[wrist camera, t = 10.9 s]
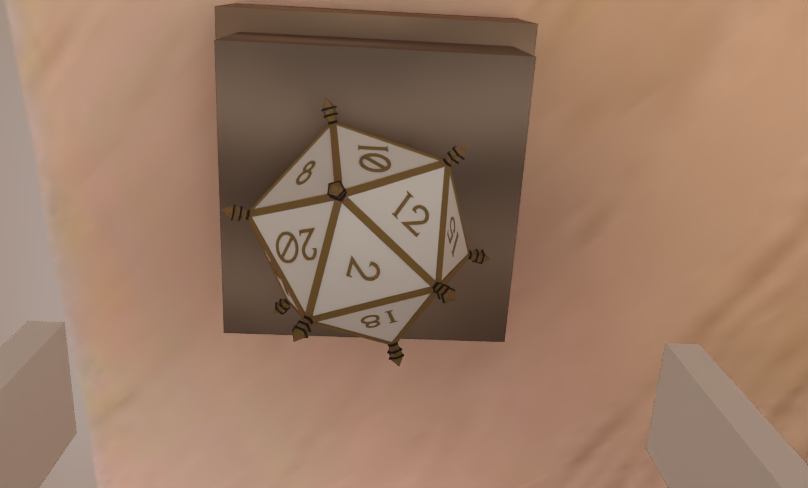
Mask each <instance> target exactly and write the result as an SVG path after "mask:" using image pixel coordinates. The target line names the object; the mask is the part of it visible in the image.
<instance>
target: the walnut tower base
mask: <svg viewBox="0 0 808 488" xmlns="http://www.w3.org/2000/svg"><path fill="white" fill-rule="evenodd" d="M537 26H538V24H536V23H532V22H528V21H524V20H520V19H513V18H494V17H476V16H458V15H439V14H421V13H403V12H384V11H366V10H348V9H329V8H311V7H293V6H274V5H256V4H238V3H235V4H228V5H221V6H215V32H216V40H214V41H215V72H216V103H217V134H218V165H219V196H220V227H221V259H222V290H223V321H224V333H244V334H275V335H293V332H292V330H293V328H294V326H295V325H296V324H297V322H298V321H299V320H300V321H301V320H302V319H303V318H302V317H301V316H300V315H299V314H298V313H297V312H296V311H295V309H294V308H293V307H292V306H290V307H291V308H290V309H289V310H287V312H286V313H284V314H283V315H282V314H274V311H275V302H279V299H284V298H285V296H284V294H283V292H282V290H281V288H280V286H279V284H278V282H277V280H276V278H275V276H274V273H273V271H272V269H271V267H270V265H269V263H268V261H267V259H266V257H265V255H264V253H263V251H262V248H261V246H260V244H259V242H258V240H257V238H256V236H255V234H254V232H253V230H252V228H251V225H250V223H249V221H248V220H246V219H243V220H240V221H238V220H236V219H233V220H231V218H230V217H229V216H228V215H226V214H225V213H224V212H223V211H222V210H221V209H224V208H227V207H230V206H233V204H234V205H236V206H237V207H240V206H242V207H243V208H244V209H246V210H250V209H251V208H252V207H253V206H254V205H255V204H256V203H257V202H258V200H259V199H260V198H261V197H262V196H263V195H264V194H265V193H266V192H267V191H268V190H269V188H270V187H271V186H272V185H273V184H274V183H275V182H276V181H277V180H278V179H279V178H280V177H281V175H282V174H283V173H284V172H285V171H286V170H287V169H288V168H289V167H290V166H291V165H292V163H293V162H294V161H295V160H296V159H297V158H298V157H299V156H300V155H301V154H302V153H303V152H304V150H305V149H306V148H307V147H308V146H309V145H310V144H311V143H312V142H313V141H314V140H315V139H316V137H317V136H318V135H319V134H320V133H321V132H322V131H323V130H324V129H325V128H326V127H327V125H328V122H327V120H326V119H325V118H324V117H323V116H324V113H323V111H322V112H321V110H322V109H323V105H324V102H325V98H327V99H328V100H329V101H330V102H331V103H333V104H334V105H335V106H337V108H336V111H337V113H338V114H337V121H338V122H339V123H341V124H344V125H347V126H350V127H353V128H356V129H359V130H362V131H365V132H368V133H371V134H374V135H377V136H380V137H382V138H385V139H388V140H391V141H394V142H397V143H400V144H403V145H406V146H409V147H412V148H415V149H418V150H421V151H423V152H426V153H429V154H432V155H435V156H438V157H441V158H444V159H445V158H446V156H447V155H448V154H447V152H449V151H451V150H452V148H453V147H454V146H456V147H459V146H464V145H467V148H466V152H465V155H464V158H465V159H464V160H463V159H462V160H460V161H459V164H457V163H456V164H454V165H452V166H451V171H452V176H453V180H454V185H455V189H456V194H457V198H458V203H459V207H460V211H461V216H462V220H463V225H464V229H465V234H466V238H467V243H468V247H469V250H471V251H473V250H475V249H478V250H480V251H481V250H482V249H483V251H484V253H485V254H486V255H487V256H488V257H489V258H490V260H488V261H485V262H483V263H482V264H479V263H475V262H472V260H470V259H469V260H467V261H466V263H465V264H464V265H463V266H462V267H461V268H460V270H459V271H458V272H457V273H456V274H455V275H454V277H453V278H452V279H451V280H450V281H449V282H448V284H447V285H448V286H450V288H453V289H455V296H456V301H451V302H446V303H443V302H442V300H441V299H440V300H439V299H438V297H437V296H436V298H435V299H434V300H433V301H432V302H431V303H430V305H429V306H428V307H427V308H426V309H425V310H424V312H423V313H422V314H421V315H420V316H419V317H418V319H417V320H416V321H415V322H414V323H413V324H412V326H411V327H410V328H409V329H408V330H407V331H406V333H405V334H404V335H403V336H402V337H401V338H400V339H429V340H460V341H491V342H504V341H505V332H506V323H507V314H508V305H509V296H510V287H511V278H512V269H513V260H514V251H515V242H516V233H517V223H518V214H519V205H520V196H521V187H522V178H523V169H524V160H525V151H526V142H527V133H528V124H529V115H530V105H531V96H532V87H533V78H534V69H535V60H536V57H535V56H534V54H535V45H536V36H537ZM310 329H311V332H309V333H308V336H337V337H358V336H354V335H351V334H347V333H343V332H339V331H335V330H332V329H328V328H324V327H320V326H316V325H311V328H310Z"/></svg>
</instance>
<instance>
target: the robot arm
mask: <svg viewBox="0 0 808 488" xmlns="http://www.w3.org/2000/svg"><path fill="white" fill-rule="evenodd" d="M76 433H77V431H76V422H75V413H74V405H73V395H72V386H71V377H70V368H69V359H68V350H67V340H66V331H65V322H39V321H28V322H27V323H26V324H25V325H23V326H22V327H21V329H19V330H18V331H17V332H16V333H15V334H14V335H13V336H12V337H11V338H10V339H9V340H8V341H7V342H5V343H4V344H3V345H2V346H1V347H0V488H39V487H40V486H41V484H42V483H43V481H44V480H45V478H46V477H47V475H48V474H49V473H50V471H51V470H52V468H53V467H54V465H55V464H56V462H57V461H58V459H59V458H60V456H61V455H62V454H63V452H64V451H65V449H66V448H67V446H68V445H69V443H70V442H71V440H72V439H73V437H74V436H75V434H76ZM646 450H647V452H648V453H649V455H650V457H651V458H652V460H653V462H654V464H655V465H656V467H657V469H658V471H659V472H660V474H661V476H662V478H663V479H664V481H665V483H666V484H667V486H668V488H808V464H806V462H805V461H804V460H803V459H802V458H801V457H800V456H799V455H798V453H797V452H796V451H795V450H794V449H793V448H792V447H791V446H790V445H789V443H788V442H787V441H786V440H785V439H784V438H783V437H782V436H781V435H780V433H779V432H778V431H777V430H776V429H775V428H774V427H773V426H772V425H771V423H770V422H769V421H768V420H767V419H766V418H765V417H764V416H763V414H762V413H761V412H760V411H759V410H758V409H757V408H756V407H755V406H754V404H753V403H752V402H751V401H750V400H749V399H748V398H747V397H746V396H745V394H744V393H743V392H742V391H741V390H740V389H739V388H738V387H737V385H736V384H735V383H734V382H733V381H732V380H731V379H730V378H729V377H728V375H727V374H726V373H725V372H724V371H723V370H722V369H721V368H720V367H719V365H718V364H717V363H716V362H715V361H714V360H713V359H712V358H711V356H710V355H709V354H708V353H707V352H706V351H705V350H704V349H703V348H702V346H701V345H700V344H681V343H666V344H665V349H664V355H663V360H662V365H661V370H660V376H659V381H658V386H657V392H656V397H655V402H654V407H653V413H652V418H651V423H650V429H649V434H648V439H647V444H646Z"/></svg>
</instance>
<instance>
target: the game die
mask: <svg viewBox="0 0 808 488" xmlns="http://www.w3.org/2000/svg"><path fill="white" fill-rule="evenodd" d="M336 108H337V106H335V105H334V104H333V103H331V102H330V101H329V100H328V99H327V98H325V102H324V105H323V109H322V110H321V112H322V111H323V113H324V116H323V117H324V118H325V119H326V120H327V122H328V125H327V127H326V128H325V129H324V130H323V131H322V132H321V133H320V134H319V135H318V136H317V137H316V139H315V140H314V141H313V142H312V143H311V144H310V145H309V146H308V147H307V148H306V149H305V150H304V152H303V153H302V154H301V155H300V156H299V157H298V158H297V159H296V160H295V161H294V162H293V163H292V165H291V166H290V167H289V168H288V169H287V170H286V171H285V172H284V173H283V174H282V175H281V177H280V178H279V179H278V180H277V181H276V182H275V183H274V184H273V185H272V186H271V187H270V188H269V190H268V191H267V192H266V193H265V194H264V195H263V196H262V197H261V198H260V199H259V200H258V202H257V203H256V204H255V205H254V206H253V207H252V208H251V209H250V210H246V209H244V208H243V207H242V206H240V207H237V206H236V205H234V204H233V206H230V207H227V208H224V209H221V210H222V211H223V212H224V213H225V214H226V215H228V216H229V217H230V218H231V220H233V219H236V220H238V221H240V220H243V219H246V220H248V221H249V223H250V225H251V228H252V230H253V232H254V234H255V236H256V238H257V240H258V242H259V244H260V246H261V248H262V251H263V253H264V255H265V257H266V259H267V261H268V263H269V265H270V267H271V269H272V271H273V273H274V276H275V278H276V280H277V282H278V284H279V286H280V288H281V290H282V292H283V294H284V296H285V298H284V299H279V302H275V311H274V314H282V315H283V314H284V313H286V312H287V310H289V309H290V308H291V307H290V306H292V307H293V308H294V309H295V311H296V312H297V313H298V314H299V315H300V316H301V317H302V318H303V319H302V320H301V321H300V320H299V321H298V322H297V324H296V325H295V326H294V328H293V330H292V332H293V342H295V341H297V340H300V339H302V338H308V333H309V332H311V329H310V328H311V325H316V326H320V327H324V328H328V329H332V330H335V331H339V332H343V333H347V334H351V335H354V336H358V337H362V338H366V339H370V340H373V341H377V342H381V343H385V344H388V346H389V351H388V353H389V355H390V357H389V360H392V361H393V362H394V363H396V364H397V365H398V366H400V363H401V360H402V357H403V356H404V354H403V353H402V352H401V350H402V348H400V347H399V345H398V341H399V340H400V338H401V337H402V336H403V335H404V334H405V333H406V331H407V330H408V329H409V328H410V327H411V326H412V324H413V323H414V322H415V321H416V320H417V319H418V317H419V316H420V315H421V314H422V313H423V312H424V310H425V309H426V308H427V307H428V306H429V305H430V303H431V302H432V301H433V300H434V299H435V298H436V296H437V297H438V299H439V300H440V299H441V300H442V302H443V303H446V302H451V301H456V296H455V289H453V288H450V286H448V285H447V284H448V282H449V281H450V280H451V279H452V278H453V277H454V275H455V274H456V273H457V272H458V271H459V270H460V268H461V267H462V266H463V265H464V264H465V263H466V261H467V260H469V259H470V260H472V262H475V263H479V264H482V263H483V262H485V261H488V260H490V258H489V257H488V256H487V255H486V254H485V253H484V251H483V249H482V250H481V251H480V250H478V249H475V250H473V251H471V250H469V247H468V243H467V238H466V234H465V229H464V225H463V220H462V216H461V211H460V207H459V203H458V198H457V194H456V189H455V185H454V180H453V176H452V171H451V166H452V165H454V164H456V163H457V164H459V161H460V160H462V159H463V160H464V159H465V158H464V155H465V152H466V148H467V145H464V146H459V147H456V146H454V147H453V148H452V150H451V151H449V152H447V154H448V155H447V156H446V158H445V159H444V158H441V157H438V156H435V155H432V154H429V153H426V152H423V151H421V150H418V149H415V148H412V147H409V146H406V145H403V144H400V143H397V142H394V141H391V140H388V139H385V138H382V137H380V136H377V135H374V134H371V133H368V132H365V131H362V130H359V129H356V128H353V127H350V126H347V125H344V124H341V123H339V122H338V121H337V114H338V113H337V111H336Z"/></svg>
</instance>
